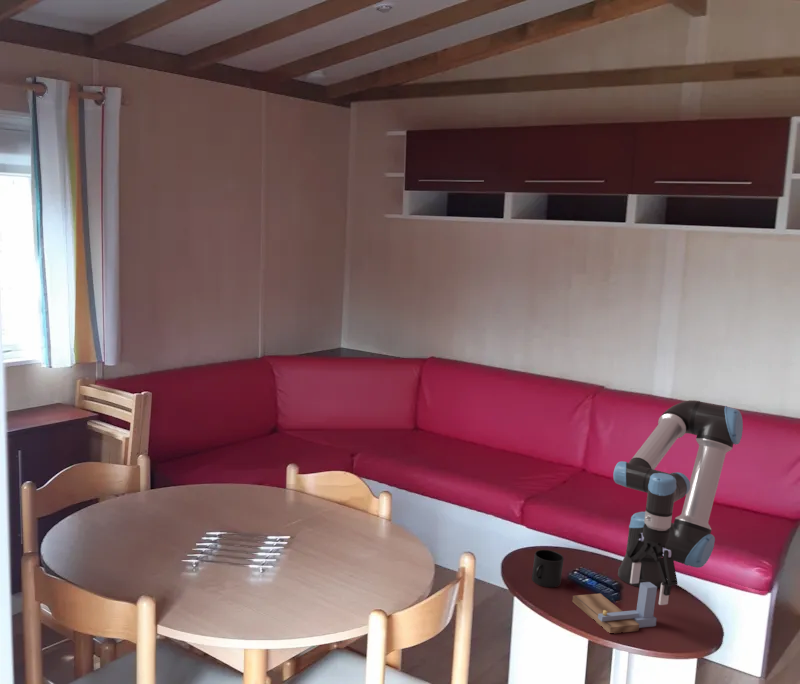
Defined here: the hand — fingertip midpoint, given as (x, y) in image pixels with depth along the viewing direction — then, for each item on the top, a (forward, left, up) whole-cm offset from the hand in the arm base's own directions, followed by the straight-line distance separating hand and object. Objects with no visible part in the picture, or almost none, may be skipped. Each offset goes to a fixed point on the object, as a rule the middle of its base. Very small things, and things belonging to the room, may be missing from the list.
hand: (648, 593), depth 232 cm
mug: (+17, -30, -9) cm, 36 cm away
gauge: (+7, 0, -9) cm, 12 cm away
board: (+10, -6, -9) cm, 15 cm away
